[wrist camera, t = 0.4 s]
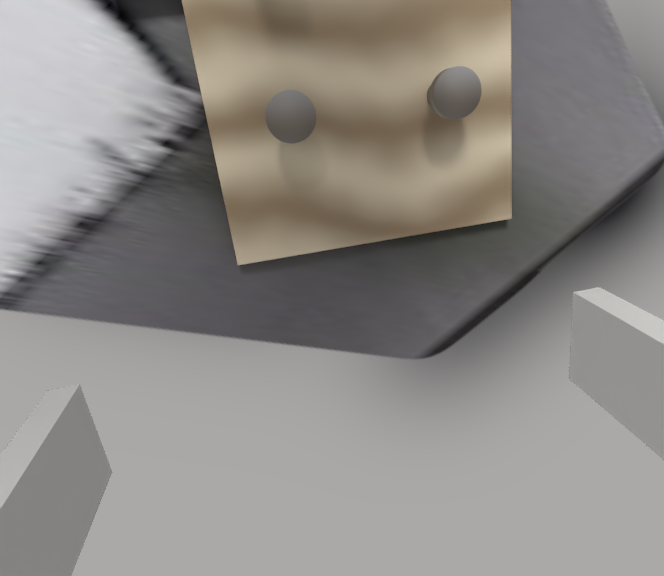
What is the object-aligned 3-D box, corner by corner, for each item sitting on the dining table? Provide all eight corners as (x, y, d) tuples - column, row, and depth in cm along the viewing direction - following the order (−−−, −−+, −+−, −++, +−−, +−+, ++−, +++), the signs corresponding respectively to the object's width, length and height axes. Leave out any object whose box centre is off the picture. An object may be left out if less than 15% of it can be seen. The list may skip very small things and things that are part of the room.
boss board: (183, -1, 32) (171, -19, 27) (503, -39, 34) (539, -62, 29) (238, 261, 38) (235, 280, 34) (505, 216, 40) (535, 228, 36)
